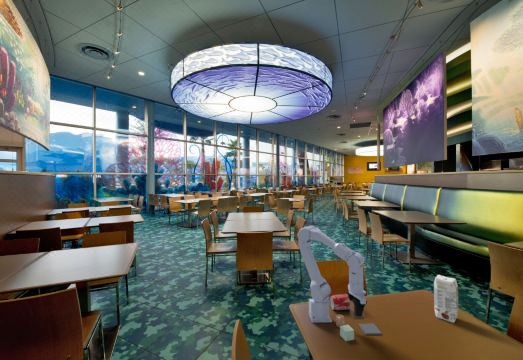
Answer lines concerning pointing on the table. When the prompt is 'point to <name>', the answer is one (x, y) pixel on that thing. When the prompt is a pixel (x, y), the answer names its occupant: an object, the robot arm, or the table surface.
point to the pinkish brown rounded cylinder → (339, 320)
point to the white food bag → (446, 298)
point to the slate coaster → (370, 329)
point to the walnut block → (352, 311)
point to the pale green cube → (346, 332)
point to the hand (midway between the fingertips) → (356, 312)
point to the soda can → (340, 302)
